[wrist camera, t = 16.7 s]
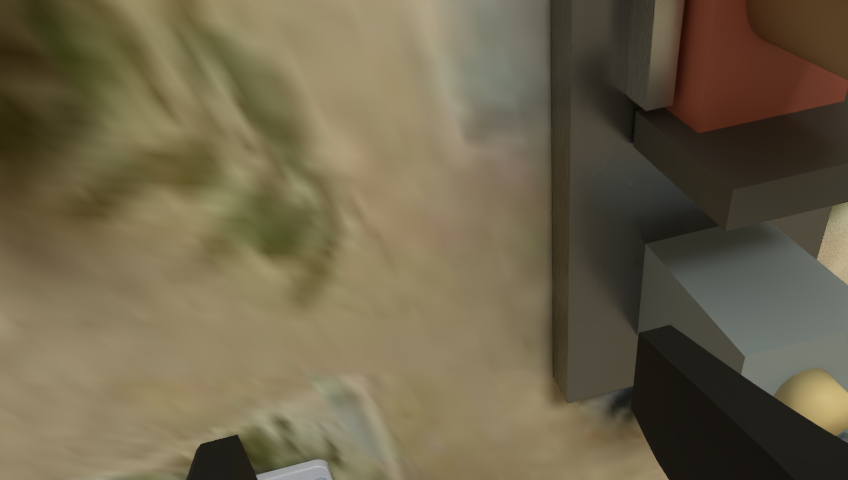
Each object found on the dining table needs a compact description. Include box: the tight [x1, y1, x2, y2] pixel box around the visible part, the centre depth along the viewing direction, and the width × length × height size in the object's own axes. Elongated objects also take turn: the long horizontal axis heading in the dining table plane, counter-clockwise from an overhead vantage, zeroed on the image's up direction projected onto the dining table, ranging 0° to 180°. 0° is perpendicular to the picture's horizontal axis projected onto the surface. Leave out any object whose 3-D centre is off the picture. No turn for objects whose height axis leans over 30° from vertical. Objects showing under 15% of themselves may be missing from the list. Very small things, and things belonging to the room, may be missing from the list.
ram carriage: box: [633, 0, 848, 231], centre depth 16 cm, size 7×6×6 cm
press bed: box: [551, 0, 832, 403], centre depth 21 cm, size 20×10×3 cm, turn 9°
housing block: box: [637, 221, 848, 436], centre depth 21 cm, size 4×4×7 cm
